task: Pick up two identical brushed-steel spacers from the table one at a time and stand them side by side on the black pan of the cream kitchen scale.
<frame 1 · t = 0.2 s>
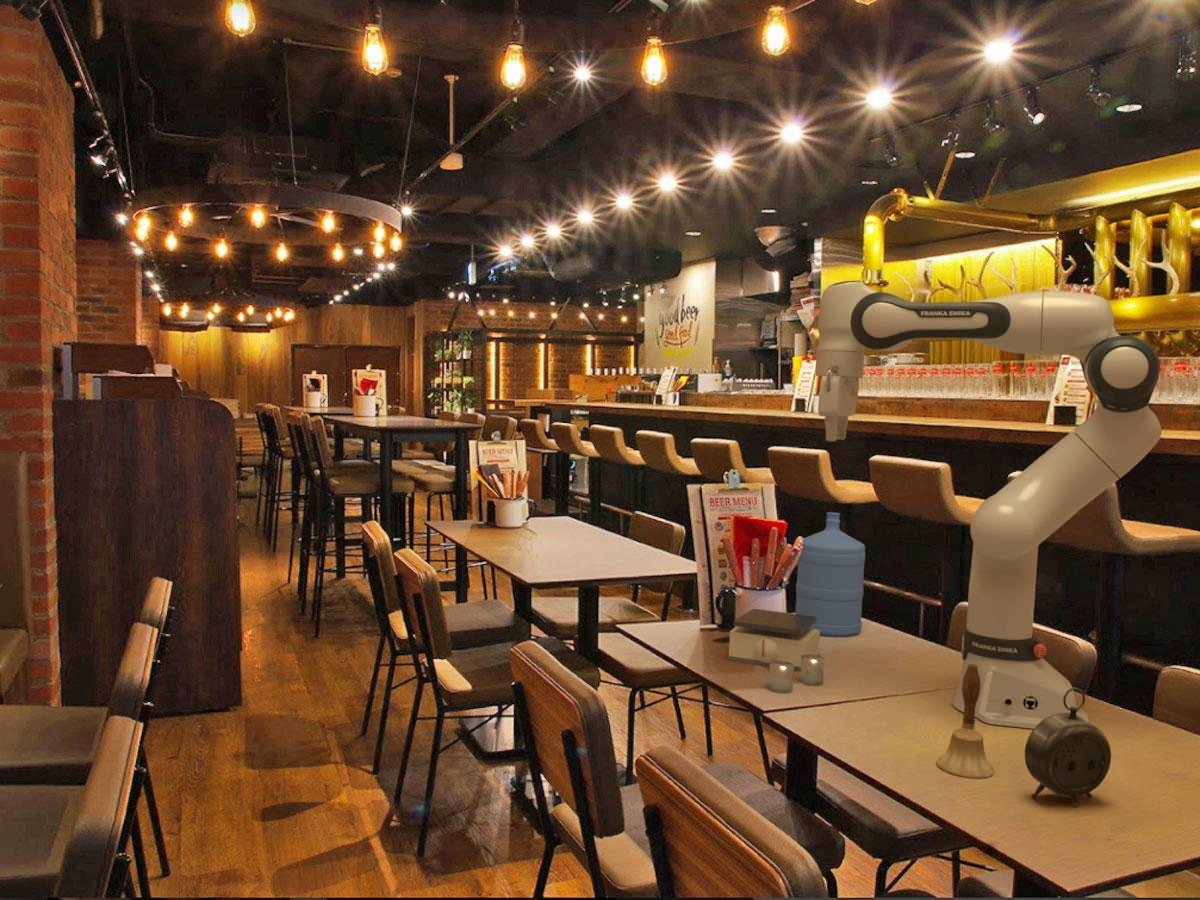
hand: (835, 440, 190), 47 cm above the table, fingers open, 8 cm apart
scale body: (774, 658, 210), on the table
spacer 2: (811, 682, 193), on the table
alarm clock: (1066, 802, 140), on the table
pan: (775, 623, 209), point 7 cm above the table, slide at 0.7 cm
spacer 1: (780, 690, 188), on the table
water jug: (827, 630, 238), on the table
hand bell: (965, 769, 151), on the table
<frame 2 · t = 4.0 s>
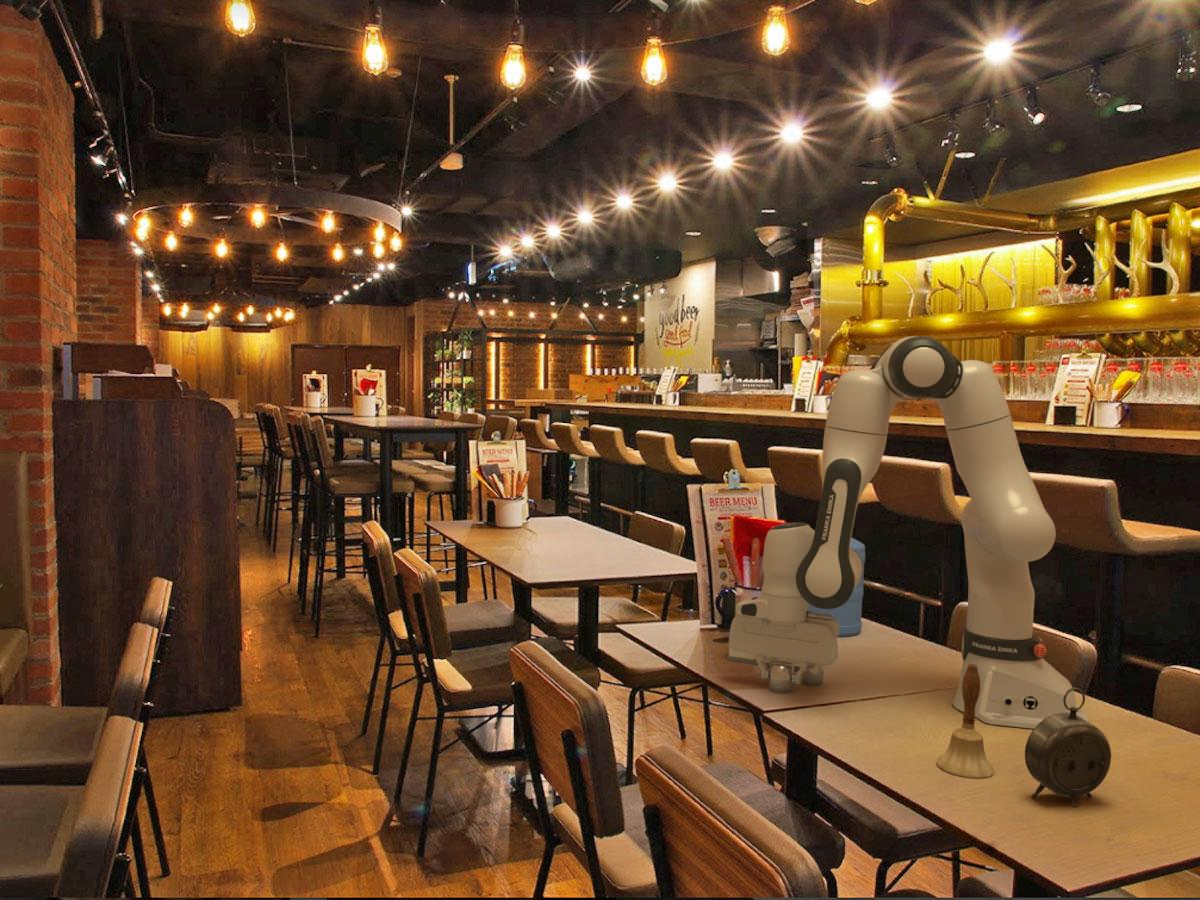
hand: (780, 680, 188), 2 cm above the table, fingers closed on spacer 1, 4 cm apart
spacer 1: (780, 689, 188), on the table, touching gripper
everything else where it was.
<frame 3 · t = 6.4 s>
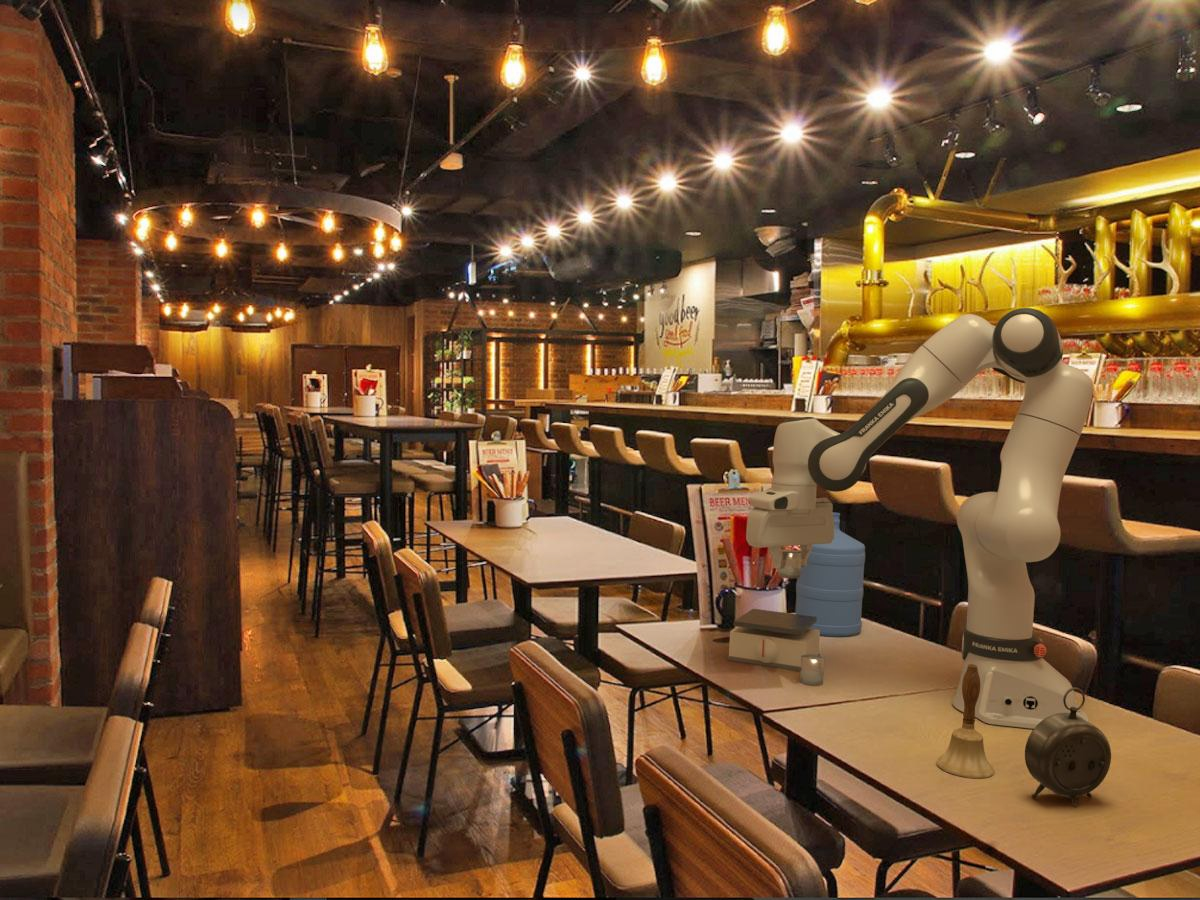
hand: (789, 567, 198), 21 cm above the table, fingers closed on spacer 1, 4 cm apart
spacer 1: (789, 576, 198), point 19 cm above the table, touching gripper
everything else where it was.
when the fingers open (12 cm above the table, at t = 9.0 s): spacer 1 drops 2 cm, resting on pan.
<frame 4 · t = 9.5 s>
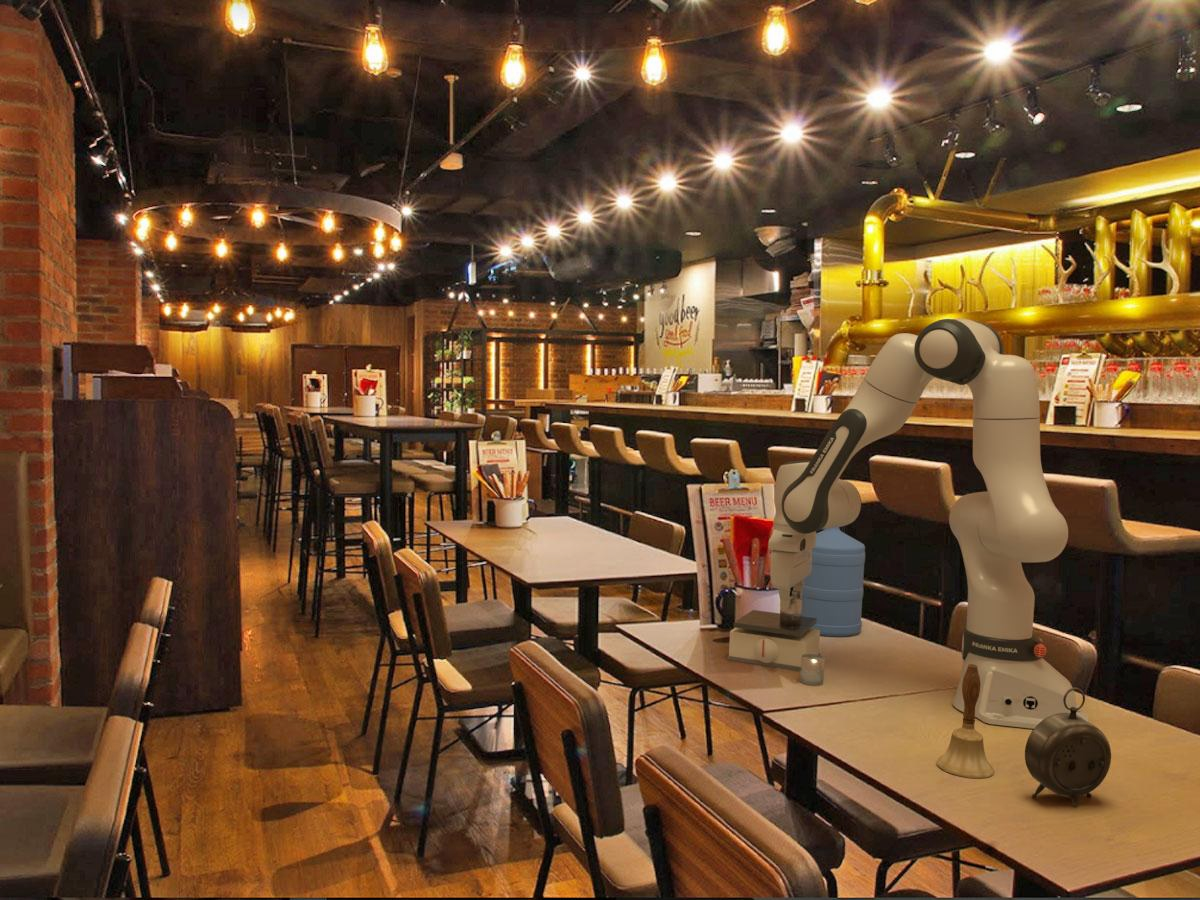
hand: (790, 603, 208), 12 cm above the table, fingers open, 8 cm apart
pan: (775, 625, 209), point 7 cm above the table, slide at 1.0 cm, touching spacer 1
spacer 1: (790, 622, 208), point 8 cm above the table, touching pan
everything else where it was.
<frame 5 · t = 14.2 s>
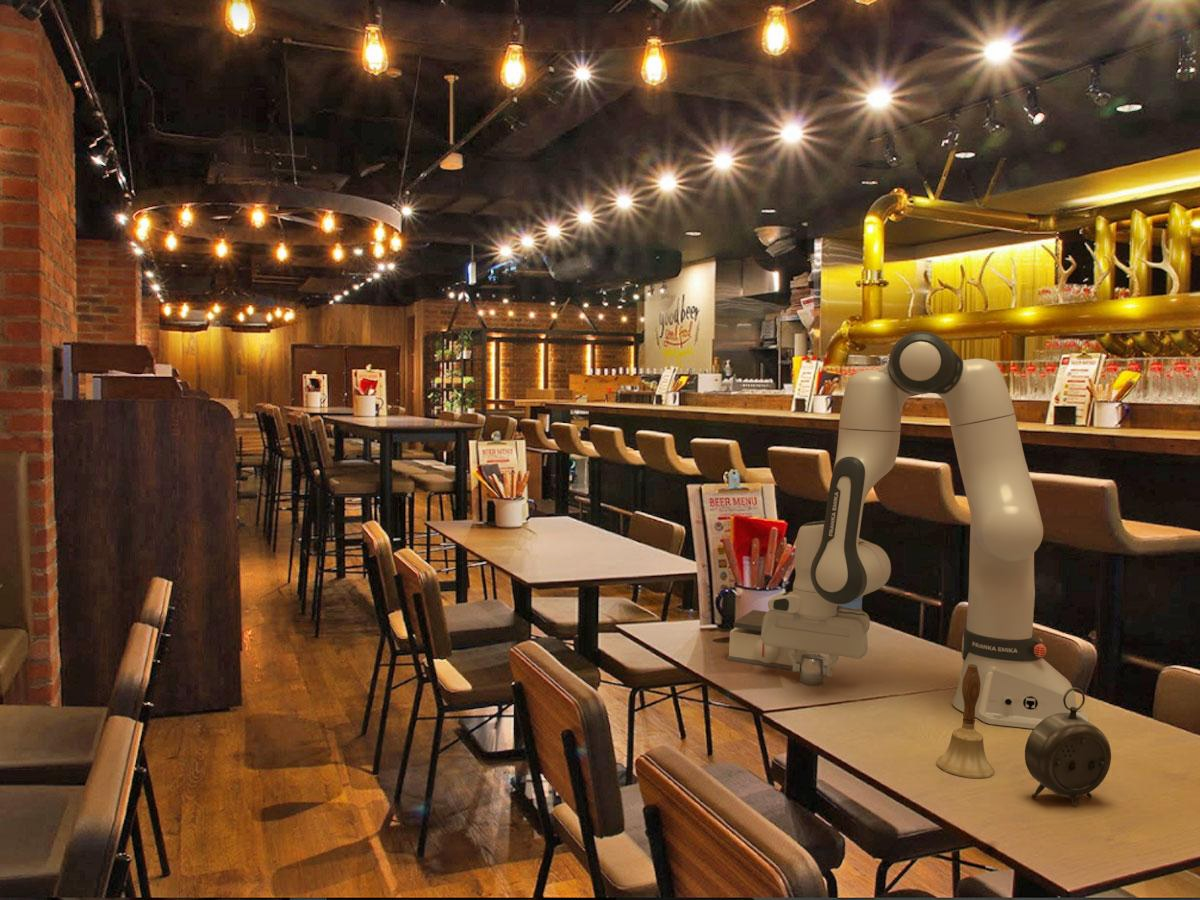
hand: (811, 673, 193), 2 cm above the table, fingers closed on spacer 2, 4 cm apart
spacer 2: (811, 682, 193), on the table, touching gripper
everything else where it was.
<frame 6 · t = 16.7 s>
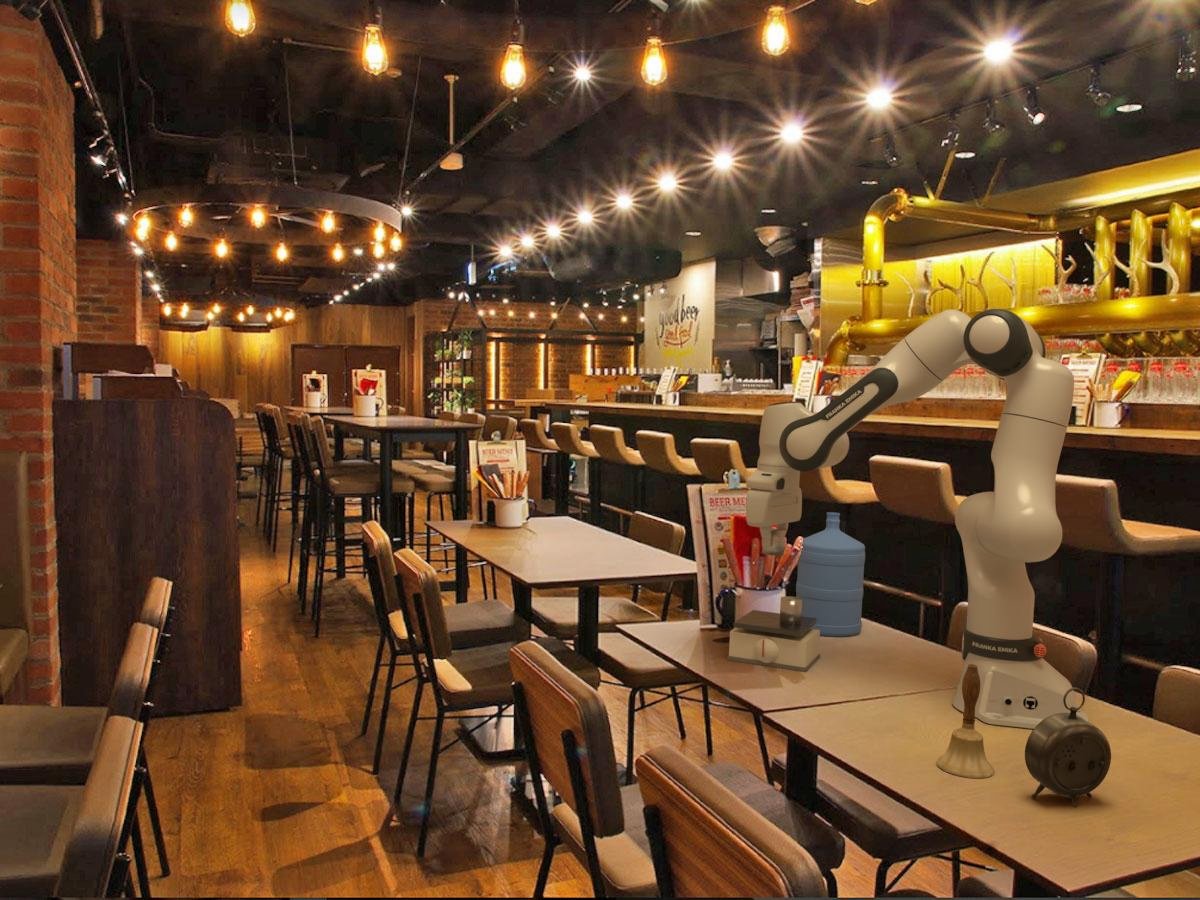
hand: (772, 545, 207), 24 cm above the table, fingers closed on spacer 2, 4 cm apart
spacer 2: (772, 553, 207), point 22 cm above the table, touching gripper
everything else where it was.
when the fingers open (12 cm above the table, at t = 19.4 s): spacer 2 drops 2 cm, resting on pan.
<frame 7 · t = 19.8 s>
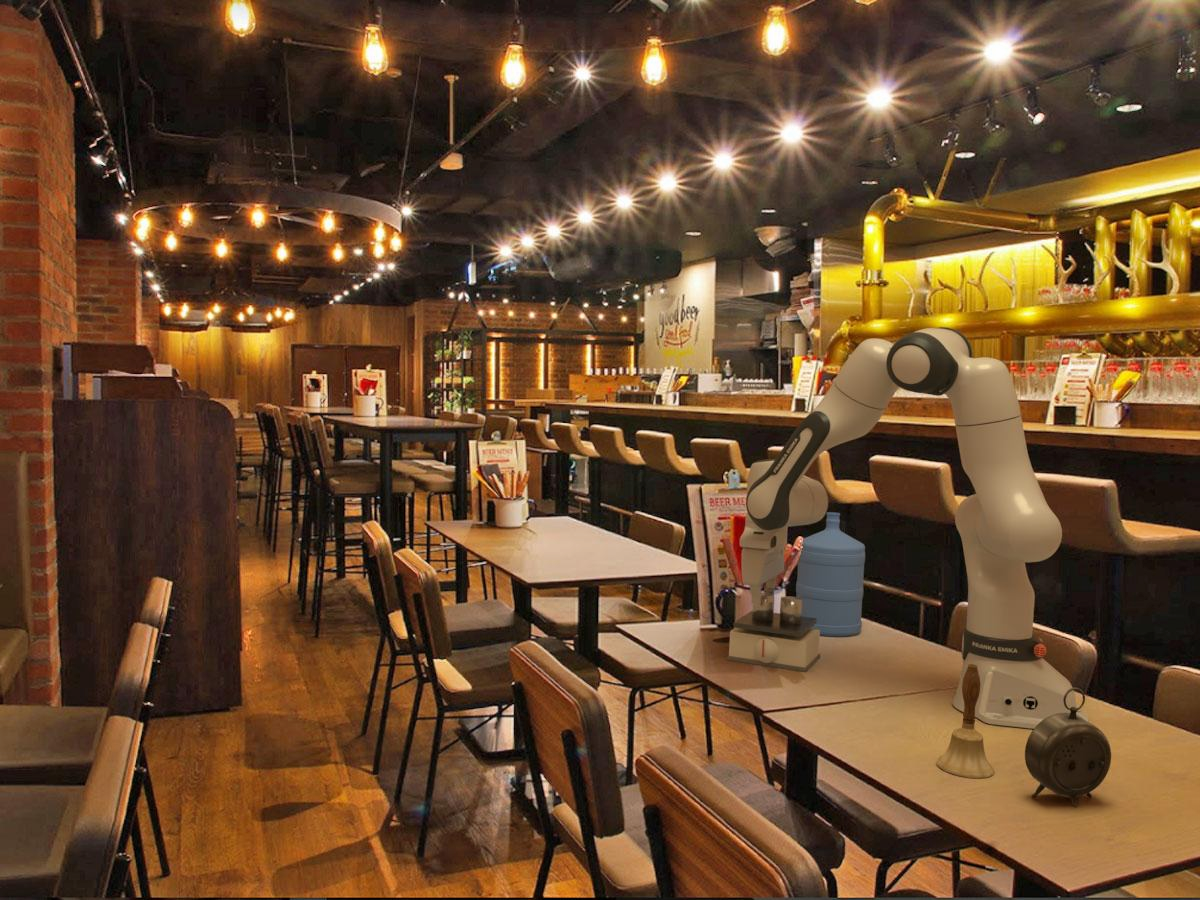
hand: (762, 600, 210), 12 cm above the table, fingers open, 8 cm apart
spacer 2: (762, 618, 210), point 8 cm above the table, touching pan
pan: (775, 625, 209), point 7 cm above the table, slide at 1.0 cm, touching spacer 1, spacer 2
everything else where it was.
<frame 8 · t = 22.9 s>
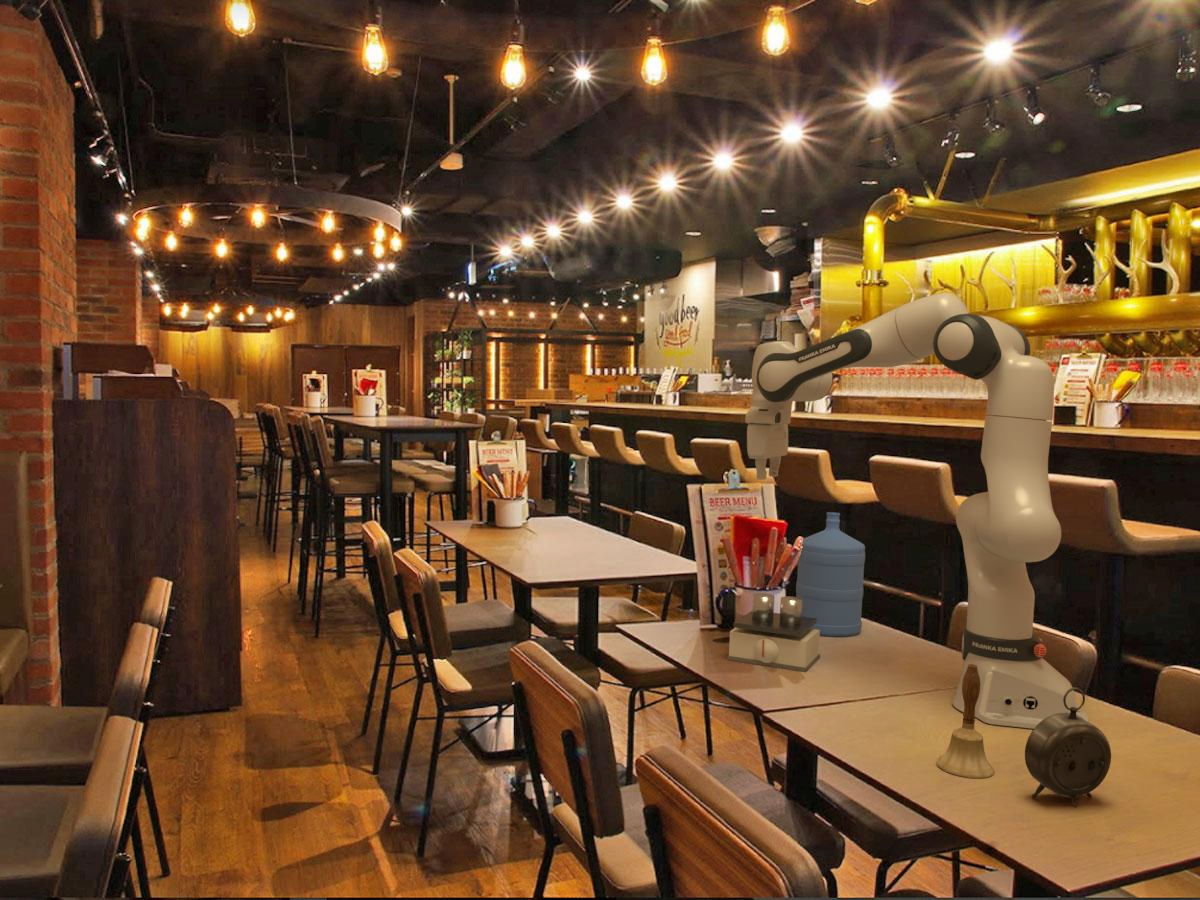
hand: (767, 478, 219), 37 cm above the table, fingers open, 8 cm apart
nothing on the table moved.
at the end: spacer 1 inside the target area on the scale body (3.1 cm from its centre), point 8.2 cm above the scale body's base; spacer 2 inside the target area on the scale body (2.8 cm from its centre), point 8.2 cm above the scale body's base; spacer 2 tilted 0° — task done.
